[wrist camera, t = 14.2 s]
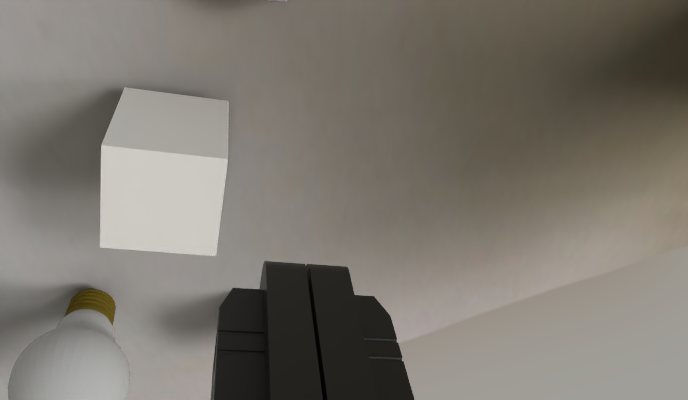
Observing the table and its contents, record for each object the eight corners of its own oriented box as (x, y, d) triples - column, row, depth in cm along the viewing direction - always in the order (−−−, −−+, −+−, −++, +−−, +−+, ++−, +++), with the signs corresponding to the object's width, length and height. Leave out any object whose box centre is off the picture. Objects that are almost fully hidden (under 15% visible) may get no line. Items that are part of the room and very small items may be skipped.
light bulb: (163, 306, 40) (145, 435, 32) (88, 346, 41) (50, 482, 33) (103, 243, 37) (65, 368, 29) (23, 287, 38) (-37, 422, 29)
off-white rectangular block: (229, 101, 33) (227, 159, 27) (218, 186, 35) (215, 256, 30) (124, 87, 31) (101, 145, 26) (121, 177, 34) (99, 247, 28)
